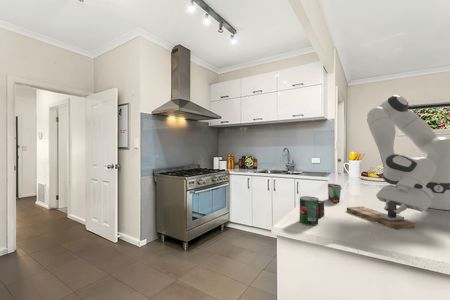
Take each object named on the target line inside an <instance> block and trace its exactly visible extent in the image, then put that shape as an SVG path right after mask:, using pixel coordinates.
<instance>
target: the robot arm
mask: <svg viewBox="0 0 450 300" xmlns="http://www.w3.org/2000/svg"><path fill="white" fill-rule="evenodd" d="M366 117H367V119H366V122H367V124H368V128H369V131H370V133H371V136H372V138H373V140H374V142H375V145H376V147H377V150H378V153H379V155H380V159H381V162H382V165H383V166H382V167H383V171H382V179H383V180H384V181H385V183H387V184H388V185H385V186H383V187H382V188H381V189H380V190H378V192H377V193H376V196H375V197H376V198H377V199H378V201H380V202H382V203H383V202H384V203H385V206H384V207H383V209H384V210H385V211H386V212H388V202H396V206H398V207H396V208H395V210H394V211H393V212H394V213H396V215H400V214H401V213H402V212H404V211H406V210H407V209H411V210H413V211H418V212H425V211H427V210H428V208H430V209H433V210H434V209H435V210H446V211H450V138H449V137H444V136H443V137H442V136H441V137H439V136H438V135H437V134H436V132H434V130H433V129H432V128H431V126H430V125H429V124H428V123H427V122H426V121H424V119H422V118H421V117H420V116H419V115H417V114H416V113H415V112H413V111H412V110H411V109H409V101H407V99H406V98H405V97H403V96H401V95H398V94H395V95H392V96H390V97H388V99H386V100H385V101H383V102H382V103H381V104H379V105H378V106H377V107H374V108H372V109H370V110H369V111H368V112H367V116H366ZM396 128H397V129H399V131H401V132H402V133H403V134H404V135H405V136H407V138H409V139H410V140H411V142H413V144H414V145H415V146H416V147H417V148H418V150H420V151H421V152H422V154H423V155H425V156H426V157H424V156H421V157H411V156H406V155H404V154H400V153H395V150H394V145H395V139H396Z"/></svg>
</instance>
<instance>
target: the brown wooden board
mask: <svg viewBox="0 0 450 300" xmlns="http://www.w3.org/2000/svg"><path fill="white" fill-rule="evenodd" d="M346 212H348V213H350V214H353V215H354V216H355V215H356V216H358V217H360V216H361V218H363V219H366V220H368V221H370V222H371V221H372V222H373V223H377V224H380V225H382V226H384V227H388V228H389V229H390V228H391V229H393V230H403V229H411V228H412V229H414V228H415V222H413V221H410V220H406V219H404V220H396V221H390V220H387V219H384V218H381V217H380V215H382V214H386V213H385V212H382V211H378V210H374V209H372V208H369V207H365V206H363V205H362V206H350V207H346ZM413 227H414V228H413Z"/></svg>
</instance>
